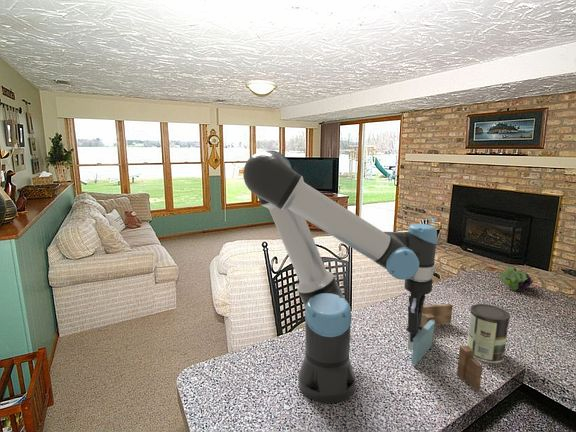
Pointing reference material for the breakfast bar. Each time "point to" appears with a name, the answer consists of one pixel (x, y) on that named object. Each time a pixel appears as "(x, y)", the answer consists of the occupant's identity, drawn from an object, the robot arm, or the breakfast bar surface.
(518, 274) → the green and purple plant
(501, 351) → the coffee can
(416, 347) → the light blue flat block
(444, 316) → the fence
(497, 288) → the breakfast bar surface
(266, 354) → the breakfast bar surface
